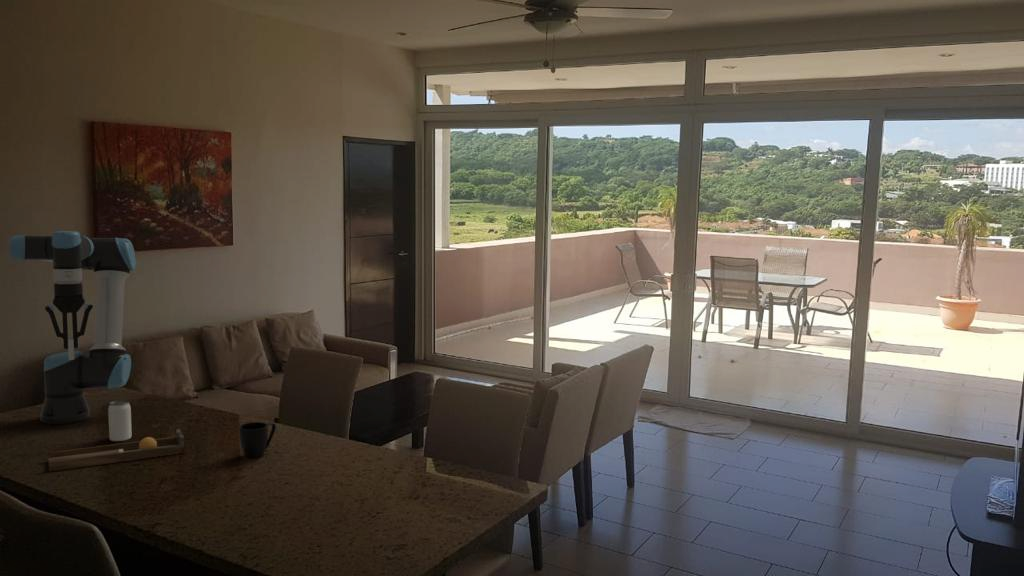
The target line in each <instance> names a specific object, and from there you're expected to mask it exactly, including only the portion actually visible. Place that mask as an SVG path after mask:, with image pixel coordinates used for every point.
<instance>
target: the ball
mask: <svg viewBox="0 0 1024 576" xmlns="http://www.w3.org/2000/svg"><path fill="white" fill-rule="evenodd" d="M155 439H156V438H154V437H151V436H146V437H144V438H142V439H141V440H140V441H141V442H140V443H139V449H140V450H144V449H152V448H157V442H156V440H155Z"/></svg>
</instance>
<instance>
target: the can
mask: <svg viewBox="0 0 1024 576" xmlns="http://www.w3.org/2000/svg"><path fill="white" fill-rule="evenodd" d="M131 408H132V407H131V405H130V401H129V400H114V401H110V402H109V406H108V409H107V410H108V411H107V413H108V436H109V440H110V441H111V442H116V443H117V442H125V441H128V440H130V439H131V438H132V434H133V433H132V412H131V411H132V409H131Z"/></svg>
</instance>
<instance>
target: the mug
mask: <svg viewBox="0 0 1024 576" xmlns="http://www.w3.org/2000/svg"><path fill="white" fill-rule="evenodd" d="M269 426H271V430H270V433H269ZM276 429H277V427H276V423H275V422H268V423H265V422H263V421H262V422H261V421H253V422H246V423H243V424H241V425H239V440H240V441H239V442H240V445H241V446H240V447H241V450H242V452H243V457H244V458H245V459H250V460H254V459H256V460H257V459H260V458H262V457H264V455H265V452H266V450H267V449H268V448H269V445H270V443H271V441H272V439H273V436H274V435H275V432H276Z"/></svg>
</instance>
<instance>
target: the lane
mask: <svg viewBox="0 0 1024 576" xmlns="http://www.w3.org/2000/svg"><path fill="white" fill-rule="evenodd" d="M175 435H176V436H171V437H163V438H154V439H155V440H156V442H157V448H152V449H144V450H140V449H139V443H140V442H141V440H138V441H131V442H123V443H122V442H121V443H115V444H104V445H97V446H91V447H90V446H89V447H83V448H82V447H81V448H75V449H65V450H58V451H57V450H56V451H50V452H48V472H53V471H54V472H55V471H62V470H69V469H77V468H84V467H85V468H87V467H93V466H98V465H99V466H100V465H107V464H115V463H122V462H130V461H137V460H144V459H151V458H152V457H153V458H159V457H158V456H160V457H166V455H168V456H174V455H173V454H175V455H180V454H179V453H183V454H185V436H184V434H183V433H182V431H181V429H180V428H176V429H175ZM164 455H165V456H164Z"/></svg>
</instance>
